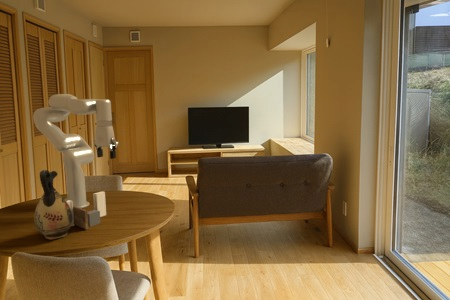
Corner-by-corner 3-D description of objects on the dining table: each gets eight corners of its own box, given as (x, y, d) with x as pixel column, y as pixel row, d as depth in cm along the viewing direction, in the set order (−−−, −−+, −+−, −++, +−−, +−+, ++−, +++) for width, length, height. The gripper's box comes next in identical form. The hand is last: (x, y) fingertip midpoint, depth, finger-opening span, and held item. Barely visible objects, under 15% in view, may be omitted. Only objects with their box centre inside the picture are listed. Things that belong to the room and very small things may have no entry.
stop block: (84, 225, 203) (83, 213, 202) (95, 221, 207) (94, 209, 207) (90, 226, 200) (89, 214, 199) (100, 223, 205) (99, 211, 204)
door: (75, 223, 205) (74, 205, 203) (88, 228, 196) (87, 210, 195) (69, 224, 203) (67, 206, 201) (82, 230, 194) (80, 212, 192)
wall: (62, 227, 200) (59, 202, 198) (103, 214, 219) (101, 191, 217) (65, 228, 198) (63, 203, 196) (106, 215, 218) (105, 191, 216)
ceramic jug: (44, 230, 196) (38, 165, 192) (78, 229, 196) (73, 164, 192) (28, 244, 179) (21, 173, 175) (65, 243, 179) (59, 172, 175)
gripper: (87, 124, 219) (89, 157, 221) (110, 125, 209) (112, 160, 212) (99, 122, 225) (101, 155, 227) (122, 124, 215) (123, 157, 218)
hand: (106, 157), depth 219 cm, fingers open, 9 cm apart
